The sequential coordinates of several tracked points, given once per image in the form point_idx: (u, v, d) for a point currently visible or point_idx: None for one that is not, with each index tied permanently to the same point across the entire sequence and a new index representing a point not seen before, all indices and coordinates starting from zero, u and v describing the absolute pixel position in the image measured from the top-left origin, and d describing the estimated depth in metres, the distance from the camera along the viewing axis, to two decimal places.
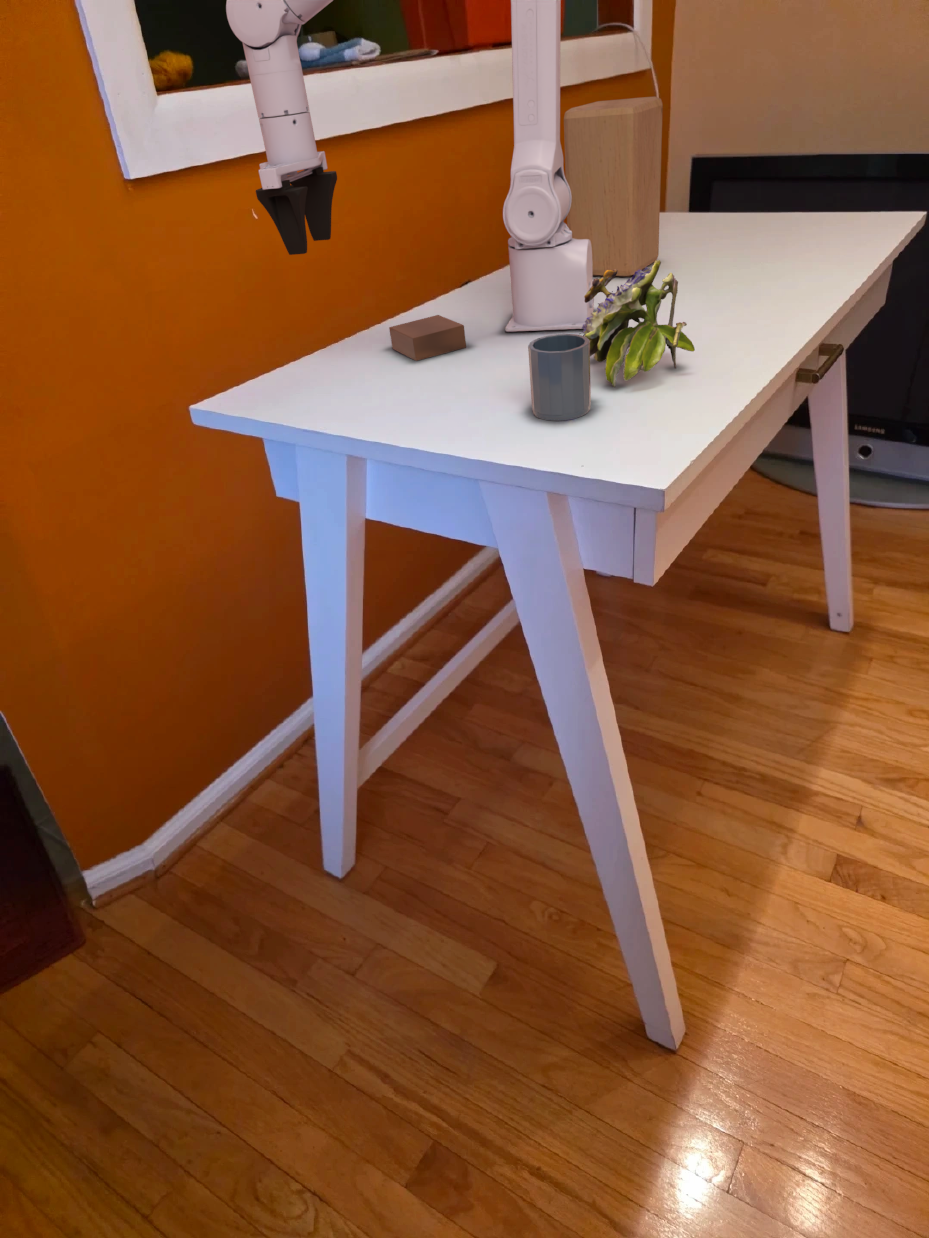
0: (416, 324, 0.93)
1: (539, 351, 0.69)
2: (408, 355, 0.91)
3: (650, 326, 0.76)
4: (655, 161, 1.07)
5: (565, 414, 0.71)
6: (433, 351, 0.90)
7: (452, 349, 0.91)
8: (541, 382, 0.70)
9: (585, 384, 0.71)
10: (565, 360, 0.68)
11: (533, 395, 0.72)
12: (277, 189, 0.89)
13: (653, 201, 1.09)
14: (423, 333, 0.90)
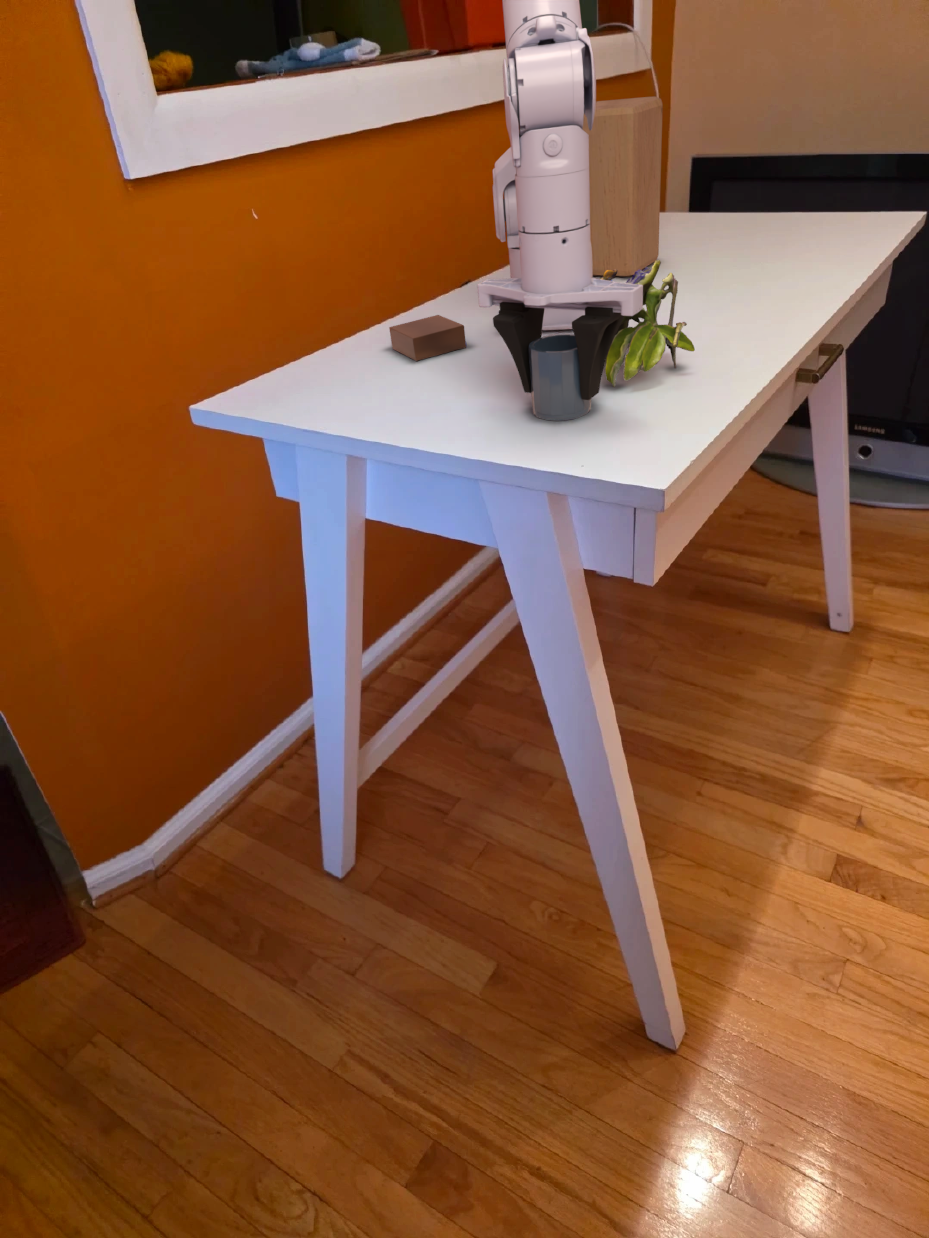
0: (416, 324, 0.93)
1: (539, 351, 0.69)
2: (408, 355, 0.91)
3: (650, 326, 0.76)
4: (655, 161, 1.07)
5: (566, 414, 0.71)
6: (433, 351, 0.90)
7: (452, 349, 0.91)
8: (541, 382, 0.70)
9: None
10: (565, 360, 0.68)
11: (533, 395, 0.72)
12: (616, 313, 0.66)
13: (653, 201, 1.09)
14: (423, 333, 0.90)
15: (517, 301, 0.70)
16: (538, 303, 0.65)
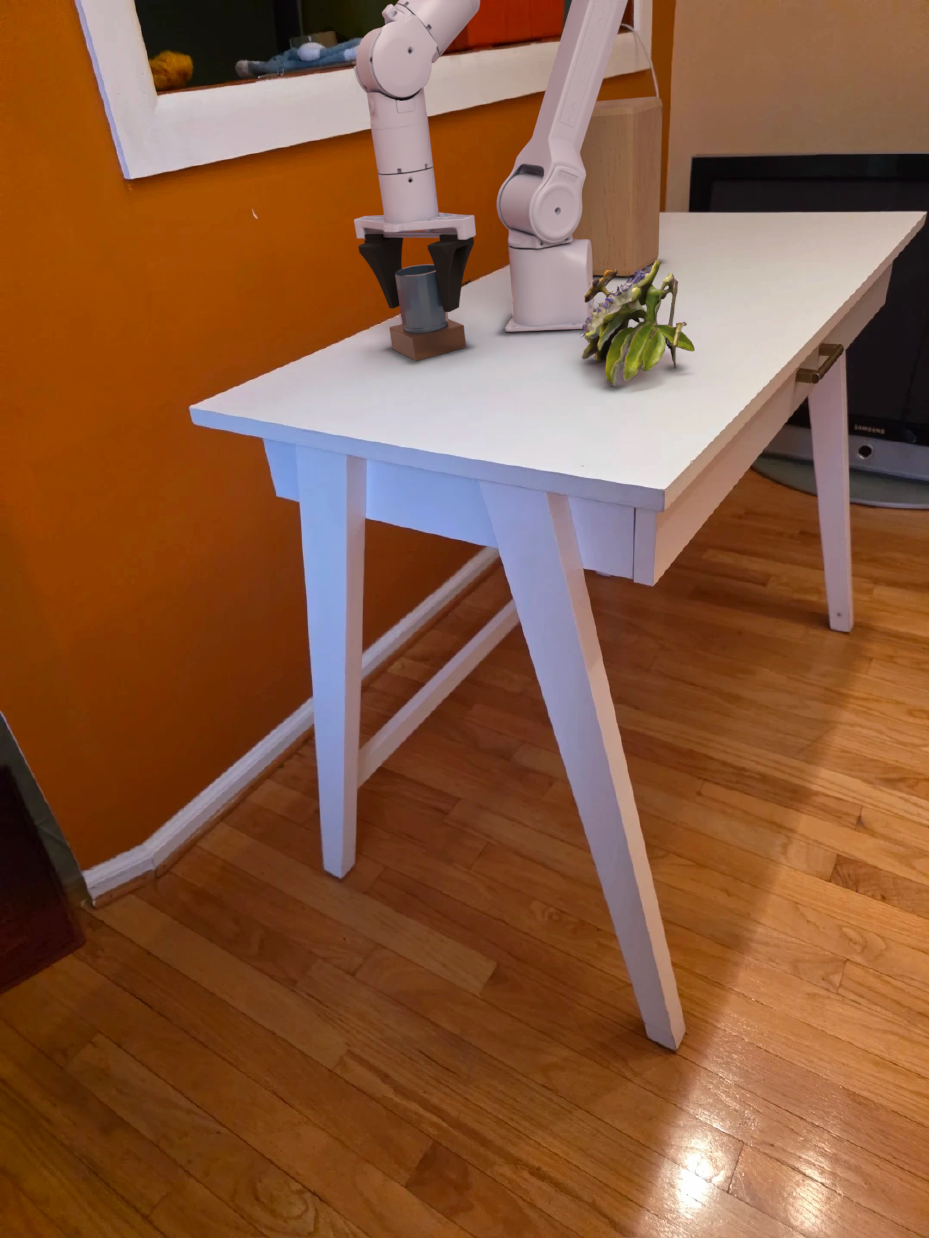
0: None
1: (400, 275, 0.87)
2: (408, 355, 0.91)
3: (650, 326, 0.76)
4: (655, 161, 1.07)
5: (425, 327, 0.89)
6: (433, 351, 0.90)
7: (452, 349, 0.91)
8: (404, 301, 0.89)
9: (440, 303, 0.89)
10: (420, 282, 0.87)
11: (400, 313, 0.90)
12: None
13: (653, 201, 1.09)
14: (423, 333, 0.90)
15: (385, 233, 0.88)
16: (393, 230, 0.83)
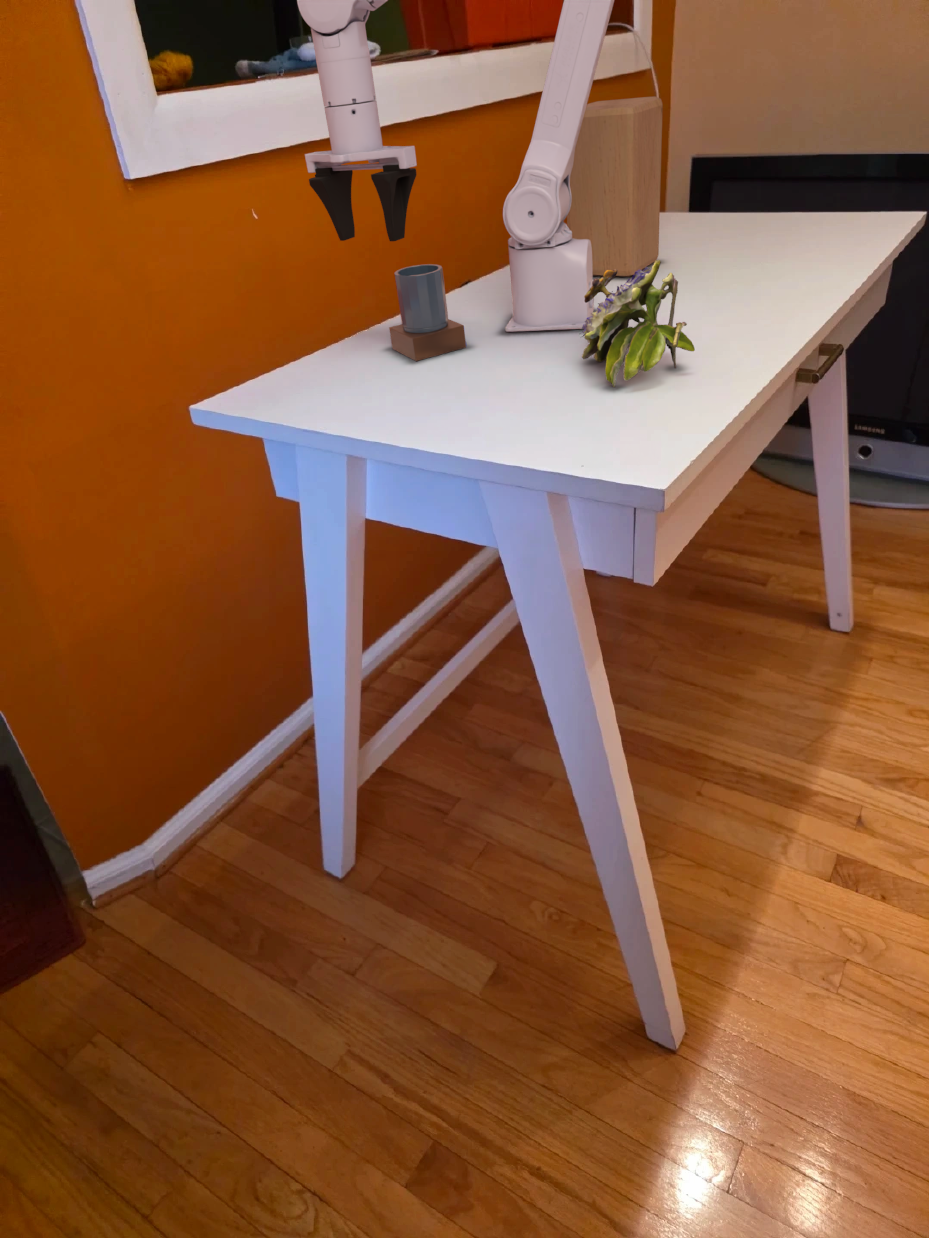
0: None
1: (400, 275, 0.87)
2: (408, 355, 0.91)
3: (650, 326, 0.76)
4: (655, 161, 1.07)
5: (425, 328, 0.90)
6: (433, 351, 0.90)
7: (452, 349, 0.91)
8: (404, 301, 0.89)
9: (440, 303, 0.89)
10: (420, 282, 0.87)
11: (400, 313, 0.90)
12: (405, 169, 0.89)
13: (653, 201, 1.09)
14: (423, 333, 0.90)
15: (333, 166, 0.93)
16: (338, 160, 0.88)
